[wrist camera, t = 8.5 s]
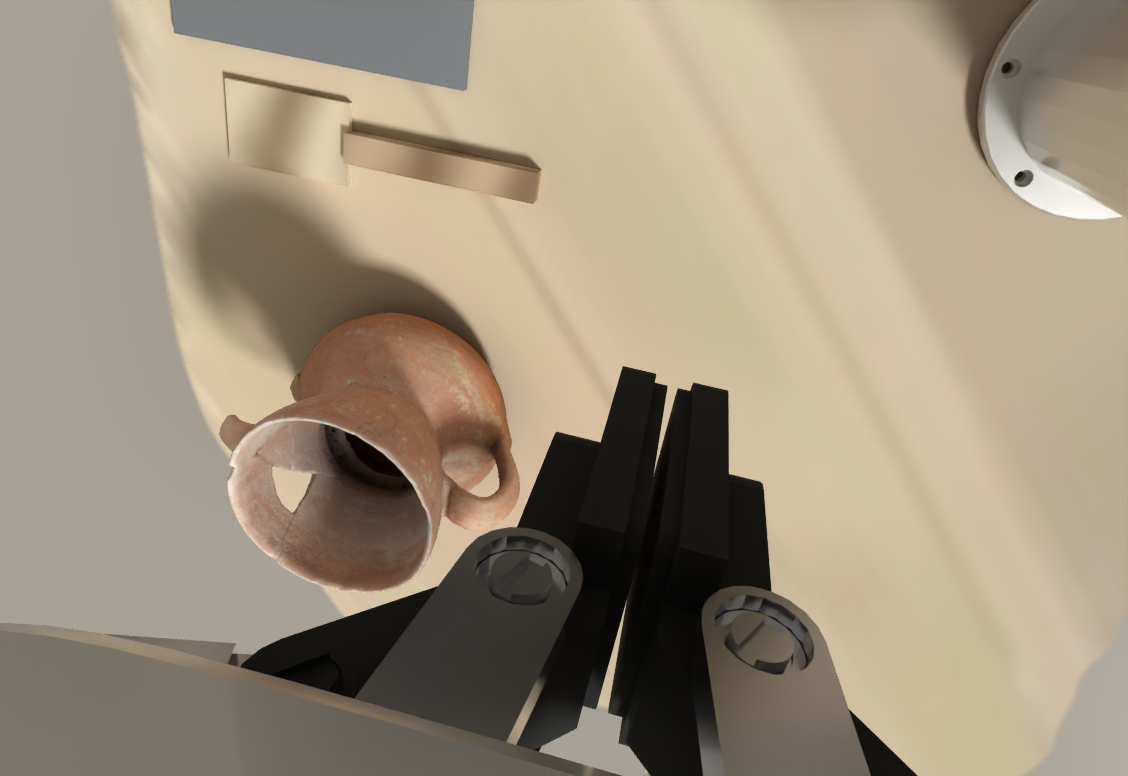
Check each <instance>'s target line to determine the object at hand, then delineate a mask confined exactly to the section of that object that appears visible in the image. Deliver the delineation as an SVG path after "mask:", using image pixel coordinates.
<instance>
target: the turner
mask: <svg viewBox="0 0 1128 776" xmlns="http://www.w3.org/2000/svg"><path fill="white" fill-rule="evenodd" d="M224 79H225V94H226V109H227V124H228V138H229V153H230V162H233V163H237V164H242V165H247V166H251V167H256V168H260V169H265V170H270V171H274V172H279V173H283V174H288V175H293V176H297V177H302V178H306V179H311V180H316V181H320V182H325V183H330V184H334V185H339V186H343V187H350V186H352V165H353V166H358V167H363V168H367V169H372V170H377V171H381V172H386V173H391V174H395V175H400V176H405V177H409V178H414V179H419V180H423V181H428V182H433V183H437V184H442V185H447V186H452V187H456V188H461V189H466V190H470V191H475V192H480V193H484V194H489V195H494V196H498V197H503V198H508V199H512V200H517V201H522V202H526V203H531V204H533V203H534V202H535V201H536V200H537V198H538V191H539V184H540V177H541V170H540V169H536V168H531V167H526V166H521V165H516V164H512V163H507V162H502V161H497V160H493V159H488V158H483V157H478V156H473V155H469V154H464V153H459V152H454V151H449V150H445V149H440V148H435V147H430V146H425V145H421V144H416V143H411V142H406V141H401V140H397V139H392V138H387V137H382V136H377V135H373V134H368V133H363V132H358V131H353V130H352V104H353V103H351V102H347V101H342V100H337V99H332V98H327V97H322V96H317V95H312V94H307V93H303V92H298V91H293V90H288V89H283V88H278V87H273V86H268V85H263V84H258V83H254V82H249V81H244V80H239V79H234V78H224Z"/></svg>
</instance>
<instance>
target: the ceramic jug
mask: <svg viewBox="0 0 1128 776" xmlns="http://www.w3.org/2000/svg"><path fill="white" fill-rule="evenodd" d="M290 389H291V391H292V395H293V397H294V399H295V401H297V402H296V403H293V404H291V405H289V406H286V407H284V408H282V409H279V410H277V411H276V412H274V413H272V414H270V415H269V416H267V417H265V418H264V419H262V420H261V421H259V422H258V423H257V424H249V423H246V422H243V421H241V420H239V419H238V418H237V416H235V415H229V416H227V417H226V419H225V420H224V422H223V423H222V425H221V428H220V433H219V435H220V438H221V439H222V441H223V442H224V443H225V445H226V446H227V447H228V448H229V449H230V450H231V451H233V453H232V455H231V458H230V461H229V465H230V466H232V469H231V473H230V475H229V477H228V480H227V489H228V495H229V499H230V503H231V506H232V509H233V510H234V513H235V515H236V517H237V519H238V522H239V523H240V524H241V526H242V528H243V529H244V531H245V532H246V534H247V535H248V536H249V537H250V538H251V539H252V540H253V541H254V543H255V544H256V545H257V546H258V547H259V548H260V549H261V550H262V551H263V552H264V553H266V554H267V555H269V556H270V557H272V558H273V559H274V560H275V561H276V562H277V563H278V564H279V565H281V566H282V567H284V568H285V569H287V570H288V571H290V572H292V573H294V574H295V575H297V576H299V577H301V578H303V579H305V580H307V581H309V582H312V583H315V584H318V585H321V586H325V587H329V588H335V589H339V590H342V591H349V592H353V591H358V592H365V593H373V592H382V591H387V590H391V589H394V588H398V587H400V586H402V585H404V584H406V583H408V582H410V581H411V580H413V579H414V578H415V577H416V576H417V575H418V574H419V573H420V572H421V570H422V569H423V567H424V566H425V564H426V562H427V560H428V558H429V556H430V554H431V552H432V549H433V546H434V544H435V541H436V538H437V533H438V530H439V525H440V520H441V517H442V516H446V517H447V518H448V519H450V520H451V521H452V522H453V523H454V524H457V525H458V526H460V527H462V528H464V529H468V530H476V531H479V530H488V529H491V528H493V527H495V526H496V525H498V524H499V523H500V522H501V521H502V520H504V519H505V518H506V517H507V516H508V515H509V513H510V512H511V511H512V510H513V508H514V506H515V504H516V502H517V500H518V496H519V492H520V482H519V475H518V471H517V468H516V464H515V462H514V460H513V457H512V454H511V452H510V449H511V445H512V440H511V437H510V433H509V429H508V424H507V418H506V409H505V404H504V400H503V396H502V393H501V390H500V387H499V385H498V383H497V380H496V378H495V376H494V375H493V373H492V371H491V369H490V368H489V367H488V365H487V364H486V362H485V361H484V360H483V358H482V357H481V356H480V355H479V354H478V353H477V352H476V351H475V350H474V349H473V348H472V347H471V346H470V345H469V344H468V343H467V342H466V341H464V340H463V339H462V338H460V337H459V336H458V335H456V334H455V333H453V332H451V331H450V330H448V329H447V328H445V327H443V326H441V325H439V324H437V323H435V322H432V321H430V320H427V319H424V318H421V317H417V316H413V315H409V314H403V313H392V312H388V313H376V314H371V315H367V316H362V317H357V318H353V319H350V320H348V321H345V322H343V323H341V324H340V325H338V326H337V327H335V328H333V329H332V330H331V331H329V332H328V333H327V334H326V335H325V336H324V337H323V338H322V339H321V340H320V341H319V342H318V343H317V344H316V346H315V347H314V348H313V350H312V351H311V353H310V355H309V356H308V358H307V360H306V363H305V365H304V368H303V370H302V372H301V373H299V374H298V375H296V376H295V379H294V380H293V381H292V384H291V386H290ZM495 463H496V464H497V467H498V473H499V476H498V477H499V481H500V484H499V485H500V486H499V489H498V490H497V491H496V492H495V493H494V494H493V495H491V496H489V497H478V496H476V495H473V494H471V493H469V492H468V491H469V490H470V489H472V488H473V487H475V486H476V485H477V484H478V483H480V482H481V481H482V480H483V479H484V478H485V477H486V476H487V474H488V473H489V472H490V471H491V469H492V468H493V466H494V465H495ZM273 466H274V467H279V468H282V469H284V470H290V471H296V472H303V473H311V474H312V478H311V481H310V483H309V485H308V488H307V490H306V493H305V495H304V497H303V498H302V500H301V502H300V503H299V505H298V507H297V508H296V510H295V511H294V512H293V513H291V512H290V511H289V510H288V509H286V508H285V507H284V506H283V505H282V503H281V501H280V499H279V497H278V496H277V494H276V489H275V484H274V479H273V476H272V467H273Z"/></svg>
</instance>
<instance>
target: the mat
mask: <svg viewBox="0 0 1128 776" xmlns="http://www.w3.org/2000/svg"><path fill="white" fill-rule="evenodd" d="M171 6H172V16H173V26H174V33H177V34H182V35H187V36H192V37H197V38H202V39H207V40H212V41H217V42H222V43H227V44H232V45H237V46H242V47H247V48H252V49H257V50H262V51H267V52H272V53H277V54H282V55H287V56H292V57H297V58H302V59H307V60H312V61H317V62H322V63H327V64H332V65H337V66H342V67H347V68H352V69H357V70H362V71H367V72H372V73H377V74H382V75H387V76H392V77H397V78H402V79H407V80H412V81H417V82H422V83H427V84H432V85H437V86H442V87H447V88H452V89H457V90H462V91H464V90H467V78H468V66H469V54H470V42H471V30H472V19H473V7H474V0H171Z"/></svg>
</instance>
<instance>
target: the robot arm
mask: <svg viewBox="0 0 1128 776" xmlns="http://www.w3.org/2000/svg"><path fill="white" fill-rule="evenodd" d="M1006 62H1009V63H1010V65H1011V66H1010V69H1009V71H1008V72H1006V73H1002V71H1001V68H1002V66H1003V65H1004V64H1005V63H1006ZM977 123H978V130H979V138H980V145H981V147H982V150H983V153H984V155H985V158H986V161H987V163H988V166H989V167H990V168H991V170H992V171H993V173H994V174H995V176H996V177H997V179H998V180H999V182H1000V183H1001V184H1002V185H1003V186H1004V187H1006V188H1007V189H1008V190H1009V191H1010V192H1011V193H1012V194H1013V195H1014V196H1015V197H1017V198H1018V199H1020V200H1022V201H1023V202H1025V203H1026V204H1028V205H1029V206H1031V207H1033V208H1036V209H1038V210H1040V211H1043V212H1045V213H1048V214H1050V215H1052V216H1057V217H1062V218H1067V219H1072V220H1092V221H1103V220H1110V219H1117V218H1124V217H1125V218H1127V219H1128V0H1032V1H1031V2H1030V4H1029V5H1028V6H1027V7H1026V8H1025V9H1024V10H1023V11H1022V12H1021V13H1020V15H1019V16H1018V17H1017V18H1016V19H1015V20H1014V22H1013V23H1012V25H1011V26H1010V28H1009V29H1008V31H1007V32H1006V34H1005V35H1004V37H1003V38H1002V40H1001V41H1000V43H999V44H998V46H997V48H996V50H995V52H994V55H993V57H992V59H991V61H990V63H989V66H988V68H987V70H986V73H985V77H984V80H983V84H982V88H981V91H980V95H979V105H978V119H977ZM1020 171H1022V172H1023V175H1022V177H1021V178H1020V179H1018V180H1015V176H1016V175H1017V173H1018V172H1020ZM655 378H656V374H654V373H650V372H646V371H642V370H637V369H633V368H629V367H625V366H623V368H622V371H621V374H620V378H619V381H618V385H617V388H616V392H615V395H614V398H613V402H612V405H611V409H610V412H609V416H608V419H607V422H606V426H605V429H604V433H603V436H602V440H601V443H600V442H596V441H592V440H588V439H584V438H580V437H576V436H572V435H568V434H564V433H560V432H556V433H555V435H554V437H553V440H552V442H551V445H550V447H549V449H548V452H547V454H546V457H545V459H544V462H543V464H542V467H541V469H540V472H539V474H538V477H537V479H536V482H535V484H534V487H533V489H532V492H531V494H530V496H529V499H528V501H527V504H526V506H525V509H524V511H523V514H522V516H521V519H520V521H519V524H518V526H517V528H515V527H508V528H503V529H498V530H492V531H490V532H488V533H486V534H484V535H482V536H480V537H478V538H477V539H476V540H475V541H473V542H472V543H471V544H470V545H469V546H468V547H467V548H466V550H465V551H464V552H463V554H462V555H461V556H460V558H459V559H458V560H457V562H456V563H455V564H454V566H453V567H452V568H451V570H450V571H449V572H448V574H447V575H446V576H445V578H444V579H443V580H442V582H441V583H440V584H439V586H437V587H434V588H431V589H428V590H425V591H422V592H419V593H416V594H413V595H410V596H407V597H404V598H401V599H398V600H395V601H392V602H390V603H387V604H384V605H381V606H378V607H375V608H372V609H369V610H366V611H363V612H360V613H357V614H354V615H351V616H348V617H345V618H342V619H339V620H336V621H333V622H330V623H327V624H324V625H322V626H318V627H316V628H312V629H309V630H307V631H304V632H301V633H297V634H294V635H292V636H289V637H286V638H283V639H280V640H278V641H276V642H274V643H272V644H269V645H268V646H265V647H263V648H261V649H260V650H258V651H257V652H256V653H255V654H253V655H249V654H237V648H236V643H222V642H209V641H195V640H194V641H193V640H181V639H166V638H152V637H138V636H125V635H111V634H101V633H95V632H87V631H81V630H74V629H67V628H61V627H54V626H48V625H31V624H12V623H0V776H621V775H617V774H614V773H610V772H607V771H604V770H600V769H597V768H593V767H590V766H586V765H582V764H579V763H576V762H573V761H569V760H565V759H562V758H558V757H555V756H552V755H548V754H545V753H543V748H544V745H545V744H547V743H549V742H551V741H553V740H555V739H557V738H559V737H561V736H562V735H564V734H566V733H568V732H570V731H572V730H574V729H576V728H577V725H578V721H579V718H580V714H581V710H582V706H585V707H589V708H592V709H596V708H597V704H598V701H599V697H600V694H601V690H602V686H603V683H604V679H605V676H606V672H607V668H608V665H609V661H610V658H611V654H612V650H613V647H614V643H615V640H616V636H617V632H618V629H619V625H620V622H621V618H622V615H623V611H624V607H625V604H626V609H625V615H624V620H623V626H622V632H621V638H620V644H619V650H618V656H617V662H616V668H615V674H614V680H613V685H612V691H611V697H610V703H609V711H608V713H610V714H613V715H617V716H620V717H622V723H621V731H620V737H619V743H620V744H623V745H627V746H629V747H630V748H631V750H632V751H633V752H634V754H635V755H636V756H637V758H638V759H639V760H640V762H641V763H642V764H643V766H644V767H645V769H646V770H645V773H644V776H917V775H916V774H915V773H914V772H913V771H912V770H911V769H910V768H909V767H908V766H907V765H906V764H905V763H904V762H903V761H902V760H901V759H900V758H899V757H898V756H897V755H896V754H895V753H894V752H893V751H892V750H890V749H889V748H888V747H887V746H886V745H885V744H884V743H883V742H882V741H881V740H880V739H879V738H878V737H877V736H876V735H875V734H874V733H873V732H872V731H871V730H870V729H869V728H868V727H867V726H866V725H865V724H864V723H863V722H862V721H861V720H860V719H859V718H857V717H856V716H855V715H854V714H853V713H852V712H851V711H850V710H849V709H848V706H847V703H846V700H845V697H844V694H843V691H842V688H841V685H840V682H839V679H838V676H837V673H836V670H835V667H834V664H833V661H832V658H831V655H830V652H829V649H828V647H827V644H826V641H825V639H824V637H823V635H822V633H821V631H820V630H819V628H818V626H817V625H816V624H815V623H814V622H813V620H812V619H811V618H810V617H809V616H808V615H807V614H806V612H804V611H803V610H802V609H800V608H799V607H798V606H796V605H795V604H794V603H792V602H791V601H790V600H788V599H786V598H784V597H782V596H780V595H777V594H775V593H773V592H771V580H770V566H769V553H768V540H767V527H766V514H765V501H764V489H763V484H762V483H761V482H759V481H755V480H751V479H747V478H743V477H739V476H735V475H731V474H729V424H728V391H727V390H723V389H718V388H714V387H710V386H706V385H701V384H697V383H693V385H692V387H691V390H690V391H687V390H683V389H679V388H678V390H677V393H676V396H675V400H674V403H673V407H672V411H671V414H670V418H669V422H668V425H667V429H666V433H665V436H664V440H663V444H662V447H661V451H660V455H659V458H658V462H657V466H656V469H655V462H656V456H657V450H658V443H659V437H660V431H661V424H662V418H663V412H664V405H665V399H666V393H667V386H666V385H662V384H658V383H655ZM654 469H655V473H654ZM653 475H654V477H653ZM626 600H627V603H626Z"/></svg>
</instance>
